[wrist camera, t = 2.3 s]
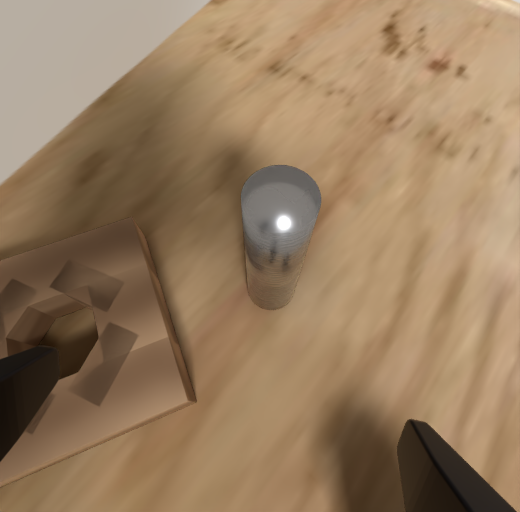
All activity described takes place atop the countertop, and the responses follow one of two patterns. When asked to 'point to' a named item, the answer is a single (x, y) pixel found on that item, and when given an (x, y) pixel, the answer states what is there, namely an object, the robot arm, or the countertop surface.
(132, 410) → the bore block
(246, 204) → the round bit
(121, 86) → the countertop surface
